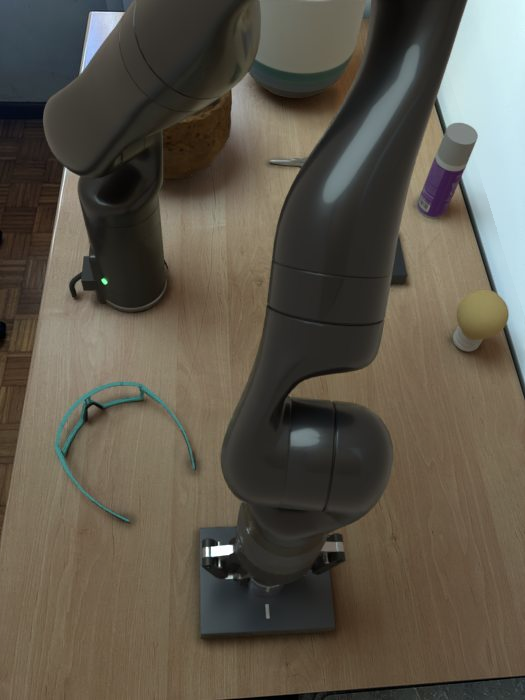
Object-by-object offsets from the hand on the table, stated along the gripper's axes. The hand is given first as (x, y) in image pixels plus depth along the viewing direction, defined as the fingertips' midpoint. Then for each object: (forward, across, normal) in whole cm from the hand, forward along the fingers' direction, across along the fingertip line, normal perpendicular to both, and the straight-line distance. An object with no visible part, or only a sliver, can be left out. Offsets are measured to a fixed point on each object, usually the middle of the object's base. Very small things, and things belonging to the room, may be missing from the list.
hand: (265, 573), depth 70 cm
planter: (+4, -10, -86) cm, 87 cm away
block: (+4, -17, -46) cm, 49 cm away
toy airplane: (+4, -15, -65) cm, 67 cm away
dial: (+1, 0, 0) cm, 1 cm away
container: (+4, -30, -56) cm, 64 cm away
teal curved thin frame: (+4, +16, -16) cm, 23 cm away
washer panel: (+4, 0, 0) cm, 4 cm away
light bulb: (+4, -30, -31) cm, 43 cm away
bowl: (+4, +11, -66) cm, 67 cm away
